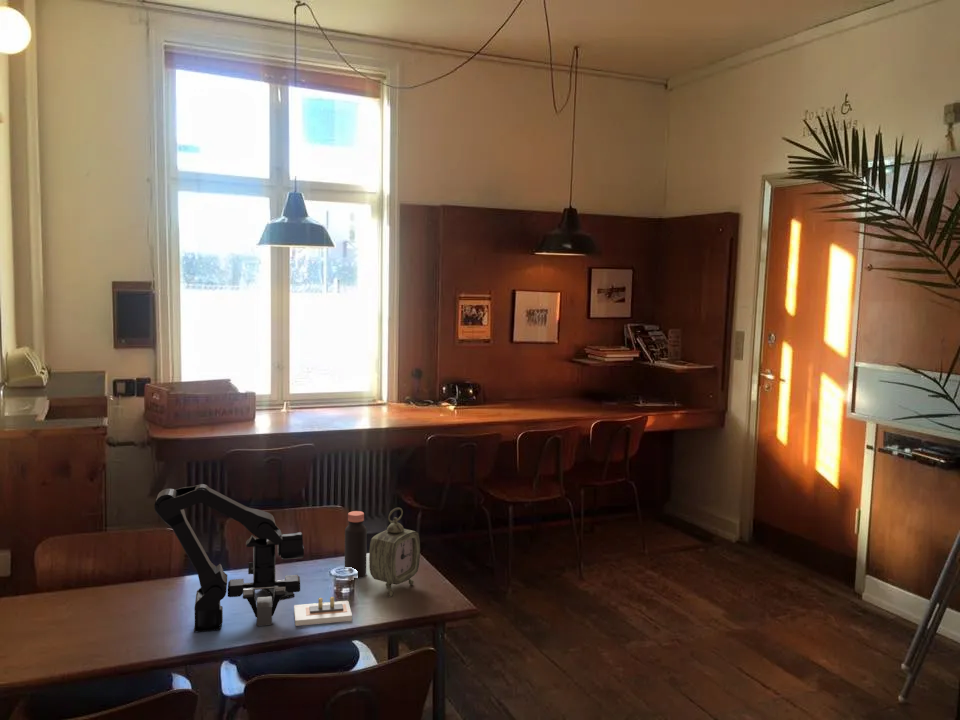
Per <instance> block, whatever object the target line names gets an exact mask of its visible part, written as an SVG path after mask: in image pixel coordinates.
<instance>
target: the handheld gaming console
mask: <svg viewBox="0 0 960 720" xmlns="http://www.w3.org/2000/svg"><path fill="white" fill-rule="evenodd" d="M264 590H265V591H266V592H267V593H268V594H269V596H272V599H273V595H274V588H272V589H264ZM285 591H286V590H285ZM293 597H295V592H291V593H288V592H287V591H286V595H285V596H282V597H281V599H280V600H284V599H289V598H293Z"/></svg>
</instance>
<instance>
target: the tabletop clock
mask: <svg viewBox="0 0 960 720" xmlns="http://www.w3.org/2000/svg"><path fill="white" fill-rule="evenodd" d="M395 511H400V516H399V517H396V516H394V517H393V520H391V516H392V514H393V513H394V512H395ZM403 513H404V511H403V509H402V508H401V507H395V508H393V509H391V510H390V512H389V514H388V522H389V523H390V524H389V525H388V526H387V528H386V530H384V531H381V532H379V533H377V534H375V535H374V536H373V537H372V538H371V539H370V542H369V557H368V558H369V559H368V561H369V565H368V566H369V572H370V575H371V577H372V578H373V580H375V581H376V580H377V581H380V582H384V583H385V587H386V588H387V587H388V588H387V589H388V590H389V591H387V596H388V597H390V598H391V597H393V595H394V592H393V591H392V585H395V586H396V585H400V584H402V583H405V582H407V581H408V584H409V585H410V586H412V585H414V582H415V580H414V579H412V578H413V577H414V576H415V575H416V574H417V573H418V570H419V566H420V560H421V559H420V558H421V557H420V556H421V540H420V539H421V538H420V533H419V531H415V530H411V529H407V528H404V526H403V525H402V523H400V522H399V521H400V520H401V519H402V517H403Z"/></svg>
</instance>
